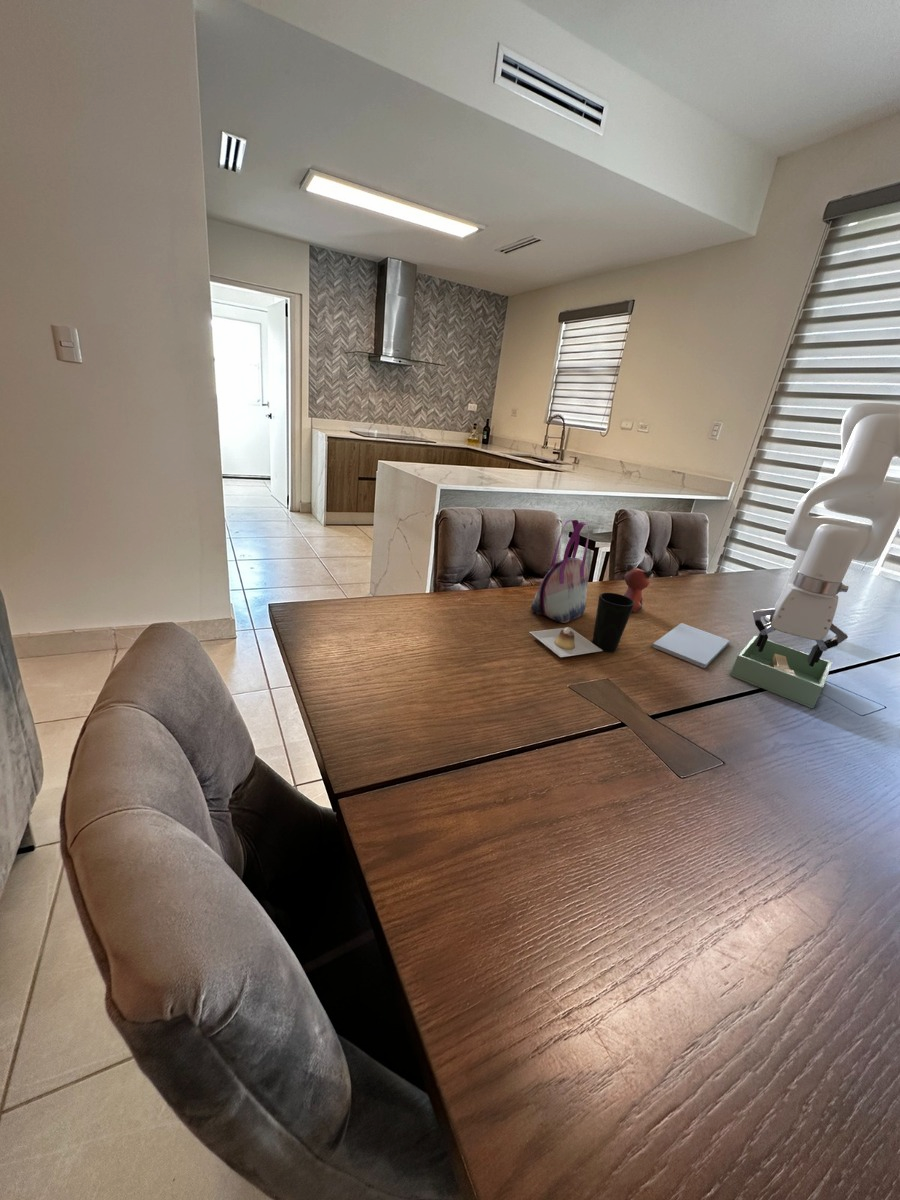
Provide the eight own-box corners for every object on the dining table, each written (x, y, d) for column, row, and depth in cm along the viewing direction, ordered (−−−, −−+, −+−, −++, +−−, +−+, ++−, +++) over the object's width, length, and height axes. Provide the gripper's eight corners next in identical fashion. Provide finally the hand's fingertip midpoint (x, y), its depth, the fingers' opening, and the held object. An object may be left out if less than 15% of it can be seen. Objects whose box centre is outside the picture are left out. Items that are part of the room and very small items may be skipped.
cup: (623, 657, 106) (637, 608, 101) (588, 650, 107) (601, 602, 102) (618, 641, 113) (631, 596, 108) (586, 635, 114) (598, 590, 109)
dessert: (568, 631, 115) (572, 613, 114) (602, 655, 106) (607, 636, 104) (528, 636, 110) (531, 617, 108) (559, 661, 100) (564, 642, 99)
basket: (747, 653, 115) (755, 635, 113) (822, 681, 106) (832, 662, 104) (729, 675, 104) (737, 655, 102) (812, 708, 94) (823, 687, 92)
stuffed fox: (606, 609, 131) (617, 569, 127) (619, 599, 140) (629, 561, 135) (633, 618, 127) (645, 577, 123) (644, 607, 136) (656, 568, 131)
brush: (765, 663, 110) (770, 652, 109) (784, 668, 108) (789, 657, 107) (770, 685, 100) (776, 673, 99) (791, 691, 99) (797, 679, 97)
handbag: (550, 630, 115) (572, 530, 105) (518, 615, 121) (535, 519, 111) (593, 611, 129) (616, 522, 120) (562, 598, 135) (581, 513, 126)
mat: (680, 626, 126) (681, 622, 126) (728, 643, 119) (729, 640, 119) (651, 647, 112) (653, 643, 112) (704, 668, 105) (705, 664, 105)
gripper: (861, 591, 97) (827, 663, 104) (766, 570, 104) (739, 638, 111) (872, 601, 91) (834, 677, 98) (770, 578, 98) (741, 650, 104)
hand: (784, 656), depth 104 cm, fingers open, 9 cm apart
